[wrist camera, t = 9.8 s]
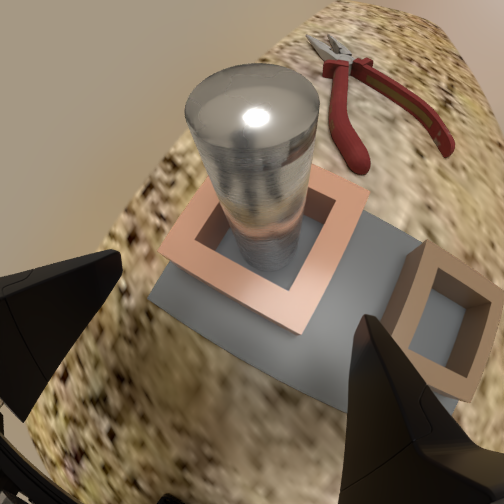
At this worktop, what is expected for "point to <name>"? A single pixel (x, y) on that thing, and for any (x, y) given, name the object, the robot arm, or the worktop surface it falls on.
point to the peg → (257, 154)
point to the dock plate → (354, 313)
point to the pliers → (344, 65)
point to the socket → (247, 282)
